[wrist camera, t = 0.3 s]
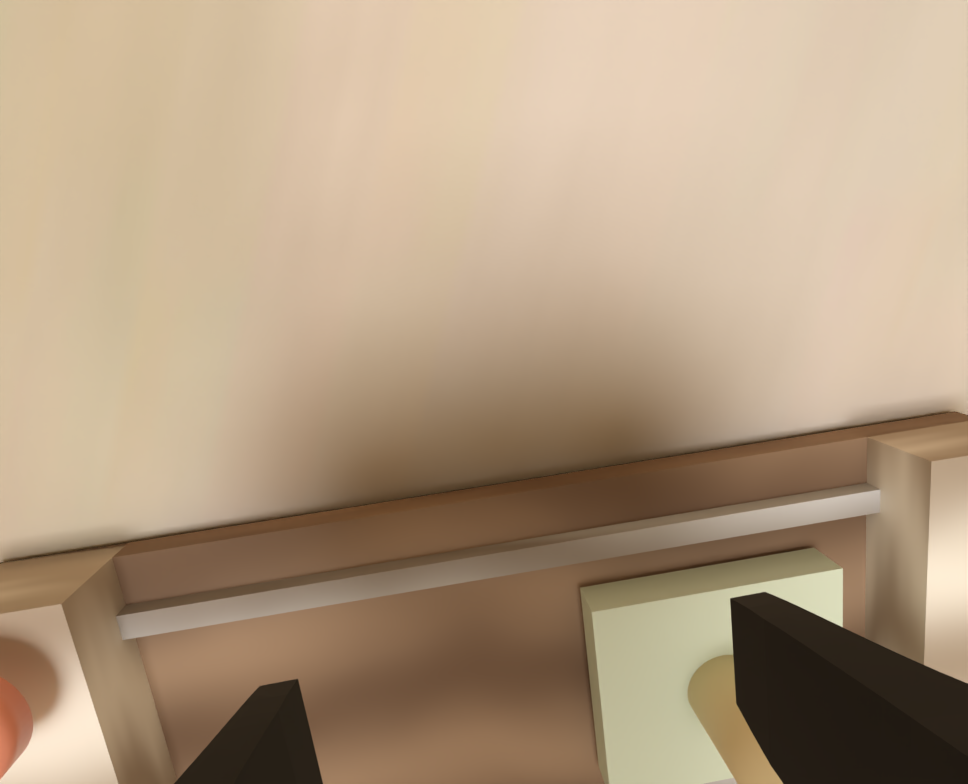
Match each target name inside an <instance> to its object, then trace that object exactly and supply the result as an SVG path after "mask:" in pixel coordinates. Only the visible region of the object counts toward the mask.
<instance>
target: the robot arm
mask: <svg viewBox="0 0 968 784" xmlns="http://www.w3.org/2000/svg"><path fill="white" fill-rule="evenodd" d="M730 606H731V623H732V640H733V658H734V675H735V692H736V704H737V706H738V708H739V710H740V711H741V713H742V715H743V717H744V719H745V721H746V723H747V724H748V726H749V728H750V730H751V732H752V734H753V735H754V737H755V739H756V741H757V743H758V744H759V746H760V748H761V749H762V751H763V753H764V755H765V756H766V758H767V760H768V762H769V763H770V765H771V767H772V768H773V769H774V771H775V772H776V774H777V775H778V777H779V778H780V780H781V781H782V782H783V784H968V683H965V682H963V681H960V680H958V679H956V678H953V677H951V676H948V675H946V674H944V673H941V672H939V671H937V670H934V669H932V668H930V667H928V666H925V665H923V664H921V663H919V662H916V661H914V660H912V659H910V658H907V657H905V656H903V655H901V654H899V653H896V652H894V651H892V650H890V649H888V648H885V647H883V646H881V645H879V644H877V643H875V642H873V641H870V640H868V639H866V638H864V637H862V636H860V635H858V634H856V633H854V632H851V631H849V630H847V629H845V628H843V627H841V626H839V625H837V624H835V623H833V622H830V621H828V620H826V619H824V618H822V617H820V616H818V615H816V614H814V613H812V612H810V611H807V610H805V609H803V608H801V607H799V606H797V605H795V604H792V603H790V602H788V601H786V600H784V599H781V598H779V597H777V596H774V595H772V594H769V593H767V592H761V593H756V594H750V595H745V596H740V597H734V598H730ZM174 784H323V781H322V777H321V773H320V769H319V765H318V761H317V756H316V752H315V748H314V744H313V740H312V735H311V731H310V727H309V723H308V719H307V714H306V710H305V706H304V702H303V698H302V693H301V689H300V685H299V681H298V679H294V680H288V681H283V682H278V683H272V684H267V685H262V686H259V687H258V688H257V689H256V690H255V691H254V693H253V694H252V695H251V696H250V697H249V698H248V699H247V700H246V701H245V703H244V704H243V705H242V706H241V707H240V708H239V709H238V711H237V712H236V713H235V714H234V715H233V716H232V718H231V719H230V720H229V721H228V722H227V723H226V725H225V726H224V727H223V728H222V729H221V730H220V732H219V733H218V734H217V735H216V736H215V737H214V738H213V740H212V741H211V742H210V743H209V744H208V745H207V747H206V748H205V749H204V750H203V751H202V752H201V753H200V755H199V756H198V757H197V758H196V759H195V760H194V761H193V763H192V764H191V765H190V766H189V767H188V768H187V769H186V770H185V772H184V773H183V774H182V775H181V776H180V777H179V778H178V780H177V781H176V782H175V783H174Z"/></svg>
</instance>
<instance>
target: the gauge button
mask: <svg viewBox="0 0 968 784" xmlns="http://www.w3.org/2000/svg"><path fill="white" fill-rule="evenodd" d="M32 732H33V717H32V713H31V710H30V707H29V705H28V703H27V701H26V700H25V698H24V697H23V695H22V694H21V693H20V692H19V691H18V690H17V689H16V688H15V687H14V686H13V685H12V684H11V683H9V682H8V681H7V680H5V679H3V678H2V677H0V779H1V778H2V777H3V776H4V774H5V773H6V772H7V771H8V770H9V768H10V767H11V766H12V765H13V764H14V763H15V761H16V760H17V759H18V758H19V757H20V755H21V754H22V753H23V752H24V751H25V749H26V748H27V746H28V744H29V742H30V740H31V737H32Z"/></svg>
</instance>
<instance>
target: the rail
mask: <svg viewBox="0 0 968 784" xmlns="http://www.w3.org/2000/svg"><path fill="white" fill-rule="evenodd" d="M808 548H815V549H817V550H818V551H819V552H821V553H822V554H824V555H825V556H826V557H828V558H829V559H831V560H832V561H833V562H835V563H836V564H838V565H839V566H840V567H842V568H843V628H845V629H847V630H849V631H851V632H854V633H856V634H858V635H860V636H862V637H864V638H866V639H868V640H870V641H873V642H875V643H877V644H879V645H881V646H883V647H885V648H888V649H890V650H892V651H894V652H896V653H899V654H901V655H903V656H905V657H907V658H910V659H912V660H914V661H916V662H919V663H921V664H923V665H925V666H928V667H930V668H932V669H934V670H937V671H939V672H941V673H944V674H946V675H948V676H951V677H953V678H956V679H958V680H960V681H963V682H965V683H968V415H965V414H961V413H958V412H950V413H944V414H938V415H931V416H925V417H919V418H913V419H906V420H900V421H894V422H887V423H881V424H875V425H868V426H862V427H856V428H849V429H843V430H837V431H830V432H824V433H818V434H811V435H805V436H799V437H792V438H786V439H780V440H773V441H767V442H761V443H755V444H748V445H742V446H736V447H729V448H723V449H717V450H710V451H704V452H698V453H691V454H685V455H679V456H672V457H666V458H660V459H653V460H647V461H641V462H634V463H628V464H622V465H615V466H609V467H603V468H597V469H590V470H584V471H578V472H571V473H565V474H559V475H552V476H546V477H540V478H533V479H527V480H521V481H514V482H508V483H502V484H495V485H489V486H483V487H476V488H470V489H464V490H457V491H451V492H445V493H439V494H432V495H426V496H420V497H413V498H407V499H401V500H394V501H388V502H382V503H375V504H369V505H363V506H356V507H350V508H344V509H337V510H331V511H325V512H318V513H312V514H306V515H300V516H293V517H287V518H281V519H274V520H268V521H262V522H255V523H249V524H243V525H236V526H230V527H224V528H217V529H211V530H205V531H198V532H192V533H186V534H179V535H173V536H167V537H160V538H154V539H148V540H142V541H135V542H129V543H123V544H116V545H110V546H104V547H97V548H91V549H85V550H78V551H72V552H66V553H59V554H53V555H47V556H40V557H34V558H28V559H21V560H15V561H9V562H2V563H0V677H2V678H3V679H5V680H7V681H8V682H9V683H11V684H12V685H13V686H14V687H15V688H16V689H17V690H18V691H19V692H20V693H21V694H22V695H23V697H24V698H25V700H26V701H27V703H28V705H29V707H30V710H31V713H32V717H33V732H32V737H31V740H30V742H29V744H28V746H27V748H26V749H25V751H24V752H23V753H22V754H21V755H20V757H19V758H18V759H17V760H16V761H15V763H14V764H13V765H12V766H11V767H10V768H9V770H8V771H7V772H6V773H5V774H4V776H3V777H2V778H1V779H0V784H174V783H175V782H176V781H177V780H178V778H179V777H180V776H181V775H182V774H183V773H184V772H185V770H186V769H187V768H188V767H189V766H190V765H191V764H192V763H193V761H194V760H195V759H196V758H197V757H198V756H199V755H200V753H201V752H202V751H203V750H204V749H205V748H206V747H207V745H208V744H209V743H210V742H211V741H212V740H213V738H214V737H215V736H216V735H217V734H218V733H219V732H220V730H221V729H222V728H223V727H224V726H225V725H226V723H227V722H228V721H229V720H230V719H231V718H232V716H233V715H234V714H235V713H236V712H237V711H238V709H239V708H240V707H241V706H242V705H243V704H244V703H245V701H246V700H247V699H248V698H249V697H250V696H251V695H252V694H253V693H254V691H255V690H256V689H257V688H258V687H259V686H262V685H267V684H272V683H278V682H283V681H288V680H294V679H298V681H299V685H300V689H301V693H302V698H303V702H304V706H305V710H306V714H307V719H308V723H309V727H310V731H311V735H312V740H313V744H314V748H315V752H316V756H317V761H318V765H319V769H320V773H321V777H322V781H323V784H605V783H604V780H603V777H602V775H601V772H600V769H599V764H598V755H597V745H596V736H595V726H594V716H593V707H592V697H591V688H590V678H589V669H588V659H587V649H586V640H585V630H584V621H583V611H582V602H581V592H580V588H581V587H587V586H593V585H598V584H604V583H610V582H616V581H622V580H628V579H633V578H639V577H645V576H651V575H657V574H663V573H668V572H674V571H680V570H686V569H692V568H698V567H703V566H709V565H715V564H721V563H727V562H733V561H738V560H744V559H750V558H756V557H762V556H768V555H773V554H779V553H785V552H791V551H797V550H803V549H808ZM704 784H737V782H736V780H735V779H734V778H730V779H725V780H720V781H715V782H709V783H704Z"/></svg>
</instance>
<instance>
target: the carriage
mask: <svg viewBox="0 0 968 784" xmlns="http://www.w3.org/2000/svg"><path fill="white" fill-rule="evenodd" d="M580 592H581V602H582V611H583V621H584V630H585V640H586V649H587V659H588V669H589V678H590V688H591V697H592V707H593V716H594V726H595V736H596V745H597V755H598V764H599V769H600V772H601V775H602V777H603V780H604V783H605V784H704V783H709V782H715V781H720V780H725V779H730V778H734V779H735V780H736V782H737V784H783V782H782V781H781V780H780V778H779V777H778V775H777V774H776V772H775V771H774V769H773V768H772V767H771V765H770V763H769V762H768V760H767V758H766V756H765V755H764V753H763V751H762V749H761V748H760V746H759V744H758V743H757V741H756V739H755V737H754V735H753V734H752V732H751V730H750V728H749V726H748V724H747V723H746V721H745V719H744V717H743V715H742V713H741V711H740V710H739V708H738V706H737V704H736V692H735V675H734V658H733V640H732V623H731V606H730V598H734V597H740V596H745V595H750V594H756V593H761V592H767V593H769V594H772V595H774V596H777V597H779V598H781V599H784V600H786V601H788V602H790V603H792V604H795V605H797V606H799V607H801V608H803V609H805V610H807V611H810V612H812V613H814V614H816V615H818V616H820V617H822V618H824V619H826V620H828V621H830V622H833V623H835V624H837V625H839V626H841V627H843V568H842V567H840V566H839V565H838V564H836V563H835V562H833V561H832V560H831V559H829V558H828V557H826V556H825V555H824V554H822V553H821V552H819V551H818V550H817V549H815V548H808V549H803V550H797V551H791V552H785V553H779V554H773V555H768V556H762V557H756V558H750V559H744V560H738V561H733V562H727V563H721V564H715V565H709V566H703V567H698V568H692V569H686V570H680V571H674V572H668V573H663V574H657V575H651V576H645V577H639V578H633V579H628V580H622V581H616V582H610V583H604V584H598V585H593V586H587V587H581V588H580Z"/></svg>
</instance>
